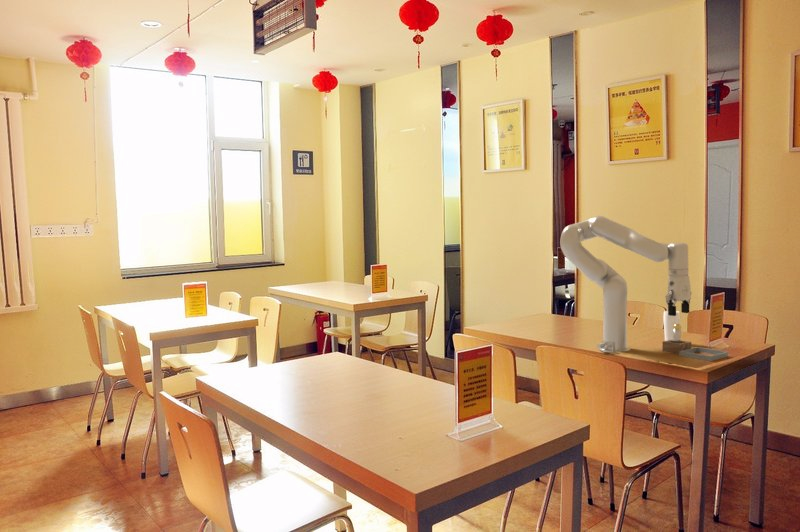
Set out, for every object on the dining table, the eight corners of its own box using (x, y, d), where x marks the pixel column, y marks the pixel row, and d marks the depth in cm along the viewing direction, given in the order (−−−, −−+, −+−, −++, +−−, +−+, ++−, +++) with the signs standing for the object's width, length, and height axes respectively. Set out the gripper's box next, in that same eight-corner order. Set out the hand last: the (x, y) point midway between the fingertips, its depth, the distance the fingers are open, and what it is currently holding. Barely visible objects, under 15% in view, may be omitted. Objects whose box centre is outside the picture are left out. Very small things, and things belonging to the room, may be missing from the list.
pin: (678, 352, 264) (678, 324, 263) (671, 351, 266) (671, 323, 265) (682, 351, 265) (682, 323, 264) (675, 350, 268) (675, 322, 267)
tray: (710, 363, 247) (710, 356, 247) (679, 358, 258) (679, 351, 258) (727, 358, 255) (728, 351, 255) (696, 353, 266) (696, 346, 265)
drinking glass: (669, 347, 279) (670, 313, 278) (659, 344, 285) (660, 311, 284) (683, 346, 280) (683, 312, 279) (672, 343, 287) (673, 310, 286)
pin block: (680, 356, 260) (680, 344, 260) (662, 353, 267) (662, 341, 266) (691, 353, 265) (691, 342, 264) (673, 350, 271) (673, 339, 271)
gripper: (675, 275, 255) (675, 317, 256) (698, 271, 265) (698, 312, 266) (657, 274, 261) (658, 315, 262) (681, 270, 271) (681, 310, 272)
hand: (678, 314), depth 264 cm, fingers open, 9 cm apart
